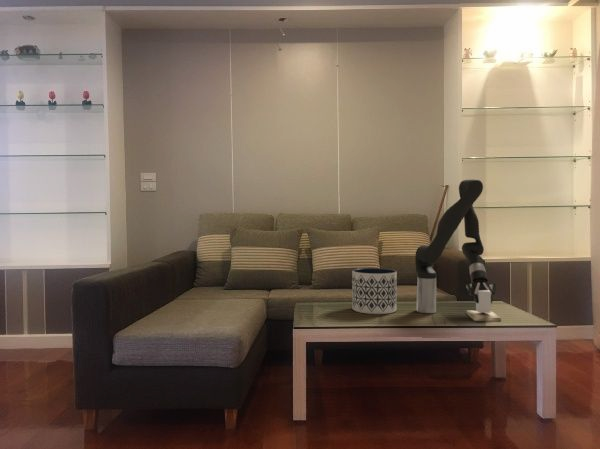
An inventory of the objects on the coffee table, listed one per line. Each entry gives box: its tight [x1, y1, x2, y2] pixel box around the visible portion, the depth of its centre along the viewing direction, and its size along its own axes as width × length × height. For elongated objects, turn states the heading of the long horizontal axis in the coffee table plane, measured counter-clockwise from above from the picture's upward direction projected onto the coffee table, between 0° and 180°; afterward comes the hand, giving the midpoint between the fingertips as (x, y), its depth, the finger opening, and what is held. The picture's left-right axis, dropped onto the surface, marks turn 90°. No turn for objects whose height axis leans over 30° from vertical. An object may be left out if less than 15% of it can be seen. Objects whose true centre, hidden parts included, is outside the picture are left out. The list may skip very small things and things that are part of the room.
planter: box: [351, 267, 398, 315], centre depth 254 cm, size 22×22×20 cm
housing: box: [475, 290, 492, 313], centre depth 238 cm, size 5×5×10 cm
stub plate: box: [465, 309, 502, 322], centre depth 238 cm, size 12×16×6 cm
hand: (484, 302), depth 237 cm, fingers closed on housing, 5 cm apart
